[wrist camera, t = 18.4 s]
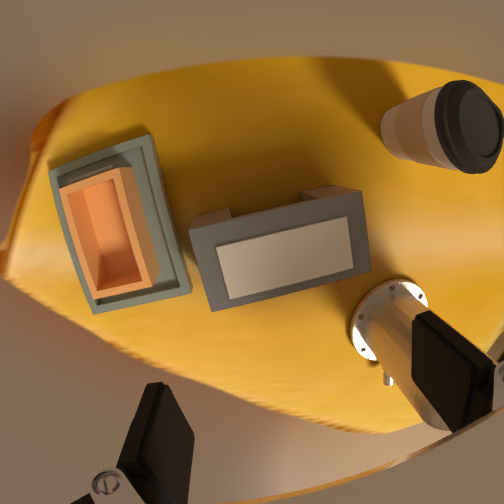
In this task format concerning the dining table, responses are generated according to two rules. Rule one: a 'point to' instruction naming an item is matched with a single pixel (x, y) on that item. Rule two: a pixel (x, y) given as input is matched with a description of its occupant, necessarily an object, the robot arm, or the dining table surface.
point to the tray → (157, 215)
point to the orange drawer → (110, 231)
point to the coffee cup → (446, 128)
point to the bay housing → (281, 247)
